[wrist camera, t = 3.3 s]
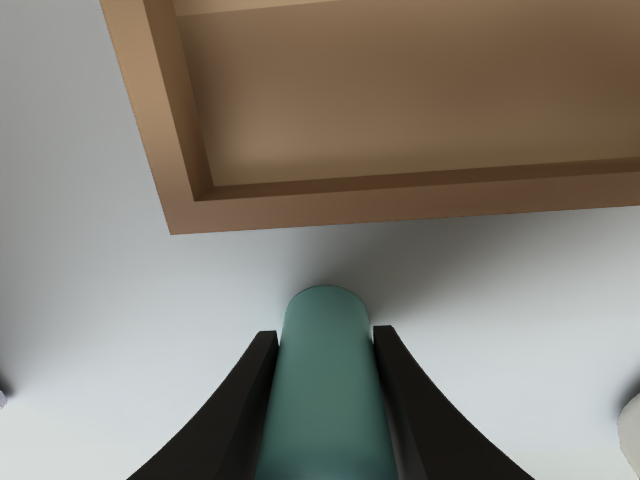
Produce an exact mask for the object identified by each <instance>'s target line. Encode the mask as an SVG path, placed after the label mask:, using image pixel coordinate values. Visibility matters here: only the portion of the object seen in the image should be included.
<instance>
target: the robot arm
mask: <svg viewBox="0 0 640 480" xmlns="http://www.w3.org/2000/svg"><path fill="white" fill-rule="evenodd" d="M373 346H374V351H375V357H376V362H377V367H378V372H379V377H380V383H381V388H382V393H383V398H384V403H385V409H386V414H387V419H388V424H389V429H390V435H391V440H392V445H393V450H394V455H395V461H396V466H397V471H398V476H399V480H535V479H534V478H533V477H531V476H530V475H529V474H528V473H526V472H525V471H524V470H523V469H521V468H520V467H519V466H518V465H517V464H516V463H515V462H513V461H512V460H511V459H510V458H509V457H508V456H506V455H505V454H504V453H503V452H502V451H501V450H500V449H498V448H497V447H496V446H495V445H494V444H493V443H491V442H490V441H489V440H488V439H487V438H486V437H485V436H484V435H483V434H482V433H481V432H480V431H479V430H478V429H476V428H475V427H474V426H473V425H472V424H471V423H470V422H469V421H468V420H467V419H466V418H465V417H464V416H463V415H462V414H461V413H460V412H459V411H458V410H457V409H456V408H455V407H454V405H453V404H452V403H451V402H450V401H449V400H448V399H447V398H446V397H445V396H444V395H443V393H442V392H441V391H440V390H439V389H438V388H437V386H436V385H435V384H434V383H433V382H432V381H431V379H430V378H429V377H428V376H427V374H426V373H425V372H424V371H423V369H422V368H421V367H420V366H419V364H418V363H417V362H416V360H415V359H414V358H413V356H412V355H411V354H410V352H409V351H408V349H407V348H406V346H405V345H404V344H403V342H402V341H401V339H400V337H399V336H398V334H397V333H396V331H395V329H394V328H393V327H392V326H391V325H383V326H373ZM278 350H279V344H278V338H277V332H276V330H275V331H259V332H258V333H257V335H256V336H255V338H254V339H253V341H252V342H251V344H250V345H249V347H248V348H247V350H246V351H245V352H244V354H243V355H242V357H241V358H240V360H239V361H238V362H237V364H236V365H235V366H234V368H233V369H232V370H231V372H230V373H229V374H228V376H227V377H226V378H225V380H224V381H223V382H222V383H221V385H220V386H219V387H218V388H217V390H216V391H215V392H214V393H213V394H212V396H211V397H210V398H209V399H208V400H207V402H206V403H205V404H204V405H203V406H202V407H201V408H200V410H199V411H198V412H197V413H196V414H195V415H194V416H193V417H192V418H191V419H190V420H189V422H188V423H187V424H186V425H185V426H184V427H183V428H182V429H181V430H180V431H179V432H178V433H177V434H176V435H175V436H174V437H173V438H172V439H171V440H170V441H169V442H168V443H167V444H166V445H165V446H164V447H163V448H162V449H160V450H159V451H158V452H157V453H156V454H155V455H154V456H153V457H152V458H151V459H150V460H149V461H147V462H146V463H145V464H144V465H143V466H142V467H141V468H139V469H138V470H137V471H136V472H135V473H134V474H132V475H131V476H130V477H129V478H128V479H127V480H254V477H255V471H256V466H257V461H258V456H259V450H260V445H261V440H262V435H263V429H264V424H265V419H266V413H267V408H268V403H269V398H270V392H271V387H272V382H273V377H274V371H275V366H276V361H277V356H278ZM6 404H7V398H6V397H5V395H4V394H3V392H2V391H1V390H0V410H1V409H2V408H3V407H4V406H5V405H6Z"/></svg>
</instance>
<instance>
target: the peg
mask: <svg viewBox="0 0 640 480" xmlns="http://www.w3.org/2000/svg"><path fill="white" fill-rule="evenodd" d="M254 480H399V476H398V471H397V466H396V461H395V455H394V450H393V445H392V440H391V435H390V429H389V424H388V419H387V414H386V409H385V403H384V398H383V393H382V388H381V383H380V377H379V372H378V367H377V362H376V357H375V351H374V346H373V341H372V336H371V331H370V325H369V320H368V315H367V311H366V308H365V306H364V304H363V303H362V301H361V300H360V299H359V298H358V297H357V296H356V295H355V294H353V293H352V292H350V291H348V290H346V289H344V288H341V287H337V286H331V285H321V286H315V287H311V288H308V289H306V290H304V291H302V292H300V293H299V294H298V295H296V296H295V297H294V298H293V299H292V300H291V302H290V303H289V305H288V307H287V310H286V314H285V319H284V324H283V329H282V335H281V340H280V345H279V350H278V356H277V361H276V366H275V371H274V377H273V382H272V387H271V392H270V398H269V403H268V408H267V413H266V419H265V424H264V429H263V435H262V440H261V445H260V450H259V456H258V461H257V466H256V471H255V477H254Z"/></svg>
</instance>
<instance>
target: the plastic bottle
mask: <svg viewBox="0 0 640 480" xmlns="http://www.w3.org/2000/svg"><path fill="white" fill-rule="evenodd" d="M617 426H618V434H619V441H620V448H621V450H622V452H623V454H624V456H625V457H626V459H627V461H628V462H629V464H630V465H631V467H632V469H633V470H634V472H635V473H636V475H637V477H638V478H639V480H640V393H639V394H637V395H636V396H635V397H634V398H633V399H632V400H630V401H629V403H628V404H627V405H626V406H625V407H624V408H623V410H622V412H621V414H620V415H619V418H618V423H617Z"/></svg>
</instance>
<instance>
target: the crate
mask: <svg viewBox="0 0 640 480" xmlns="http://www.w3.org/2000/svg"><path fill="white" fill-rule="evenodd" d="M100 4H101V7H102V10H103V14H104V17H105V20H106V24H107V27H108V30H109V33H110V37H111V40H112V43H113V47H114V50H115V53H116V57H117V60H118V63H119V66H120V70H121V73H122V76H123V80H124V83H125V86H126V90H127V93H128V96H129V99H130V103H131V106H132V109H133V113H134V116H135V119H136V123H137V126H138V129H139V132H140V136H141V139H142V142H143V146H144V149H145V152H146V156H147V159H148V162H149V165H150V169H151V172H152V175H153V179H154V182H155V185H156V189H157V192H158V195H159V198H160V202H161V205H162V208H163V212H164V215H165V218H166V222H167V225H168V228H169V231H170V235H177V234H192V233H208V232H224V231H240V230H256V229H272V228H288V227H304V226H320V225H336V224H352V223H368V222H384V221H399V220H415V219H431V218H447V217H463V216H479V215H495V214H511V213H527V212H543V211H559V210H575V209H591V208H607V207H622V206H638V205H640V0H100Z"/></svg>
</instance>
